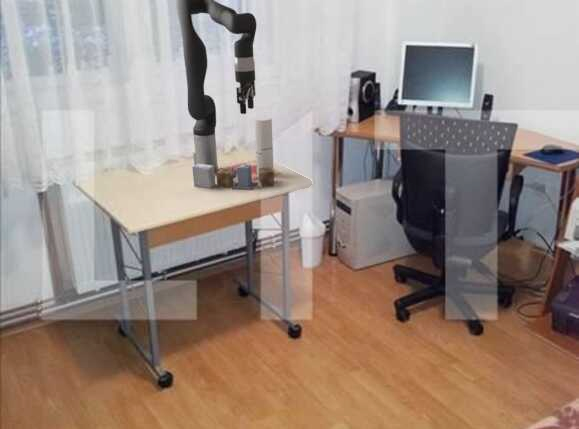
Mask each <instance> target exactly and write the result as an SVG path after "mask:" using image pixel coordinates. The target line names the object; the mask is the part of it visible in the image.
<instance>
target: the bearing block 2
mask: <svg viewBox="0 0 579 429" xmlns="http://www.w3.org/2000/svg"><path fill="white" fill-rule="evenodd" d="M258 178H259V183H260V185H261V187H263V188H264V187H265V188H266V187H273V186H275V171H273V170H272V168H271V167H267V168H259V177H258Z"/></svg>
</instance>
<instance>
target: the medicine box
mask: <svg viewBox="0 0 579 429" xmlns="http://www.w3.org/2000/svg"><path fill="white" fill-rule="evenodd" d="M191 168H192V178H193V186H194V187H196V188H197V187H198V188H206V189H212V188H214V187H215V186H217V183H216V175H215V174H216V173H214V166H212V165H205V164H197V165H193V166H192V167H191Z"/></svg>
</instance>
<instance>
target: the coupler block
mask: <svg viewBox="0 0 579 429" xmlns="http://www.w3.org/2000/svg"><path fill="white" fill-rule="evenodd" d="M252 174H253V173H252V164H243V163H240V164H239V165H238V166H236V178H237V182H238V186H241V187H249V186H250V185H251V184H252V182H253V178H252Z"/></svg>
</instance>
